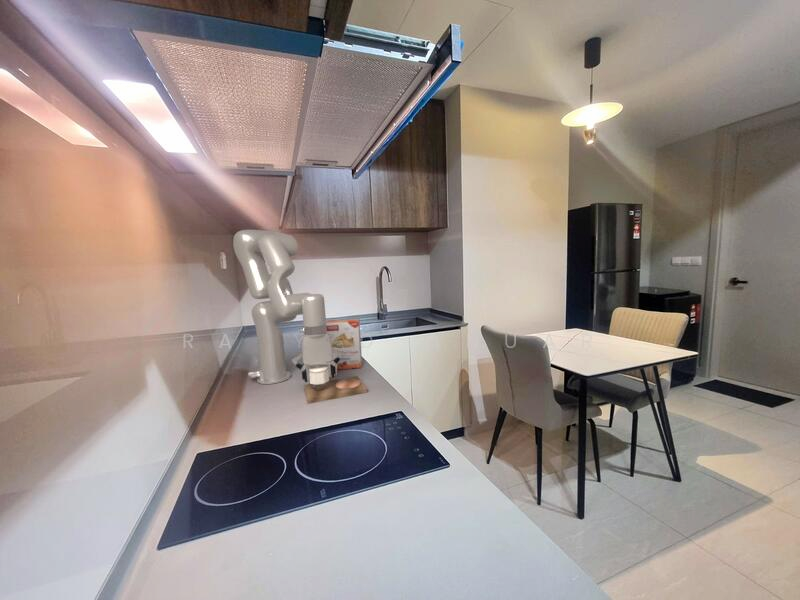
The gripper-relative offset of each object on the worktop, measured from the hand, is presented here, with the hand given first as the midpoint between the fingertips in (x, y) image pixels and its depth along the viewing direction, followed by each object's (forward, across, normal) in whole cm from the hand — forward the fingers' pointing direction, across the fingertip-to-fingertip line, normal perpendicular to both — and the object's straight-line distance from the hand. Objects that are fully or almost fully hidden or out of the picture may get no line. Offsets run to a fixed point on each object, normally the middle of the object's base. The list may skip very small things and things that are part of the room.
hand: (319, 378), depth 111 cm
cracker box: (+5, +14, +24) cm, 28 cm away
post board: (+5, +5, 0) cm, 7 cm away
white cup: (+5, +5, +18) cm, 20 cm away
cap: (+1, 0, 0) cm, 1 cm away
